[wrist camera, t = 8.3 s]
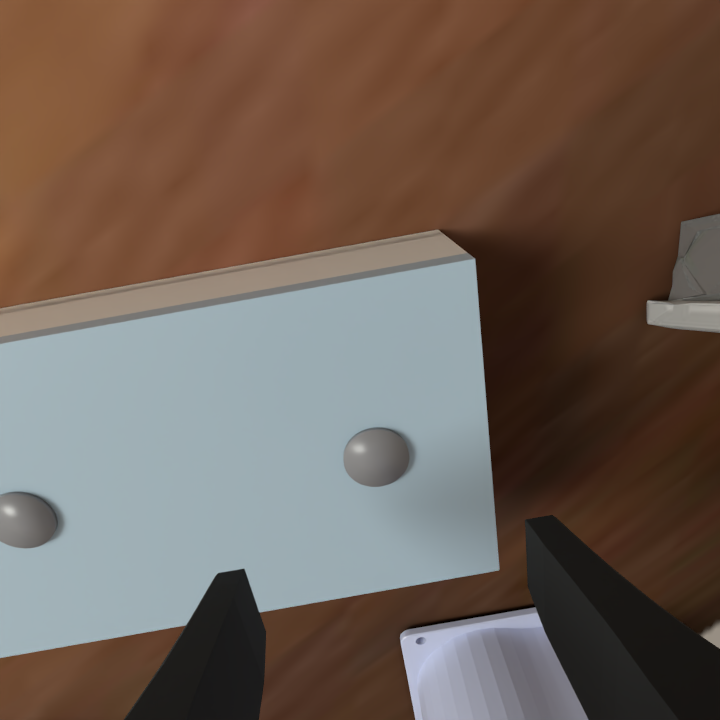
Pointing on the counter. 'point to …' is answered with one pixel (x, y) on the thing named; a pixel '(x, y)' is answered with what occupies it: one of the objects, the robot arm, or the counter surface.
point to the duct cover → (244, 453)
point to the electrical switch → (693, 280)
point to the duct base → (226, 282)
